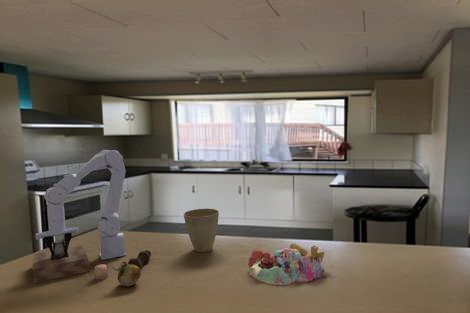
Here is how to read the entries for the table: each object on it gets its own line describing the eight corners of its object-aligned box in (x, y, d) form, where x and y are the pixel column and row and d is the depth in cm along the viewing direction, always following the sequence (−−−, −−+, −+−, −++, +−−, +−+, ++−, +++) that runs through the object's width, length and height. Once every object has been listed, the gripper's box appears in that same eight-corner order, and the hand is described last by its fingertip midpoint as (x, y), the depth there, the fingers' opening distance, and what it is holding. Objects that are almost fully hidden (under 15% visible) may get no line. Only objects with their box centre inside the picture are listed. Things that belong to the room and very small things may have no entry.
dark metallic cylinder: (65, 259, 139) (63, 239, 138) (66, 263, 136) (65, 242, 135) (53, 262, 137) (52, 241, 136) (54, 265, 134) (53, 244, 133)
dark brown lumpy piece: (149, 262, 145) (136, 276, 130) (139, 256, 145) (124, 270, 130) (156, 250, 145) (143, 263, 130) (145, 244, 145) (131, 256, 130)
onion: (128, 292, 115) (127, 267, 114) (112, 287, 119) (110, 263, 118) (146, 282, 121) (144, 259, 120) (130, 278, 125) (128, 256, 125)
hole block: (83, 257, 149) (82, 245, 149) (89, 271, 133) (88, 258, 133) (33, 266, 140) (32, 254, 140) (33, 283, 125) (32, 269, 124)
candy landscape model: (282, 254, 143) (282, 232, 142) (336, 269, 126) (335, 243, 125) (238, 274, 125) (237, 248, 125) (293, 294, 109) (292, 264, 108)
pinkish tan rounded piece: (104, 273, 130) (103, 263, 129) (109, 277, 127) (108, 266, 126) (93, 277, 127) (92, 266, 127) (98, 281, 124) (97, 270, 124)
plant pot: (201, 241, 163) (199, 207, 162) (227, 246, 154) (225, 210, 153) (178, 251, 151) (175, 214, 150) (204, 257, 142) (203, 218, 141)
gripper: (34, 224, 128) (37, 261, 129) (78, 218, 135) (81, 253, 136) (34, 220, 135) (37, 256, 136) (76, 214, 142) (79, 248, 143)
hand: (59, 254), depth 136 cm, fingers closed on dark metallic cylinder, 4 cm apart
